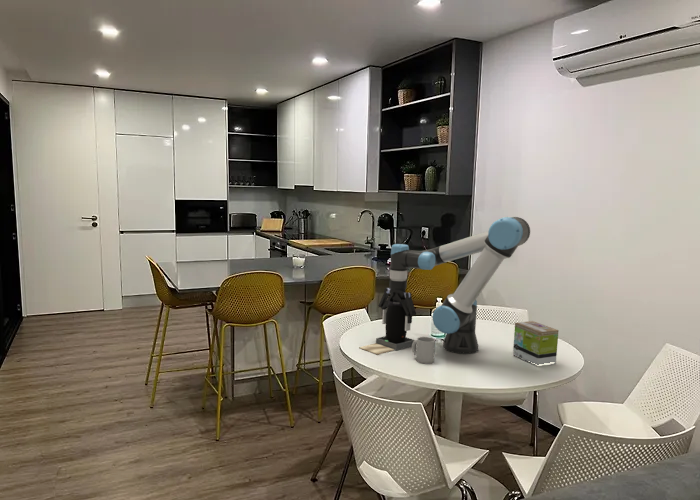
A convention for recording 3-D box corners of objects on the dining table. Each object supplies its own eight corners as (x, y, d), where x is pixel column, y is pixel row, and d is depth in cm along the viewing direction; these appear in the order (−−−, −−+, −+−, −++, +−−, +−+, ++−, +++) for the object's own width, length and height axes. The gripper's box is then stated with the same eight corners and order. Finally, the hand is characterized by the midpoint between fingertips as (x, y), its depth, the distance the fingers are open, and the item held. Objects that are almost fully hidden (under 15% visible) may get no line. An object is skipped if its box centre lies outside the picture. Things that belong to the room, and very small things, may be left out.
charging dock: (414, 345, 228) (415, 339, 228) (396, 350, 220) (396, 343, 220) (394, 339, 237) (395, 332, 237) (375, 343, 229) (376, 337, 228)
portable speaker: (408, 347, 226) (410, 303, 223) (388, 348, 223) (390, 303, 221) (401, 341, 234) (403, 299, 231) (382, 342, 231) (384, 299, 229)
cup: (427, 365, 202) (429, 343, 201) (406, 359, 209) (407, 337, 208) (437, 361, 208) (438, 339, 207) (416, 355, 214) (417, 334, 213)
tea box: (511, 355, 218) (514, 321, 216) (530, 353, 222) (532, 320, 220) (537, 367, 204) (540, 331, 203) (556, 364, 208) (559, 329, 207)
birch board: (393, 350, 220) (393, 349, 220) (377, 354, 213) (377, 353, 213) (375, 344, 228) (375, 343, 228) (359, 348, 221) (359, 347, 221)
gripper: (426, 283, 218) (423, 332, 221) (383, 274, 237) (381, 319, 239) (414, 284, 213) (411, 334, 216) (372, 276, 232) (370, 322, 234)
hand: (395, 327), depth 228 cm, fingers open, 13 cm apart
